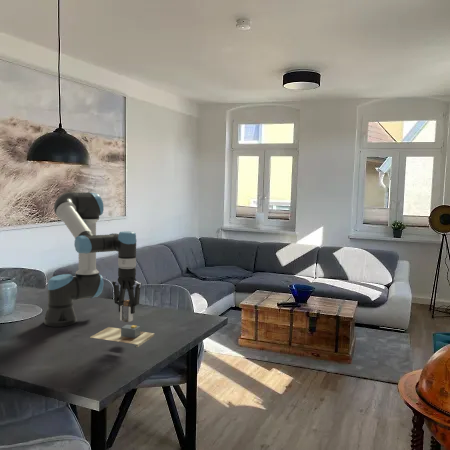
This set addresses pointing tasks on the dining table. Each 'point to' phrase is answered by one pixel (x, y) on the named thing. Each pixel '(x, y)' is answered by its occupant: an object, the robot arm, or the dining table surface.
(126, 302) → the metal cylinder
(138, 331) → the block
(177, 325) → the dining table surface
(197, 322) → the dining table surface
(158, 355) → the dining table surface
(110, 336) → the board
